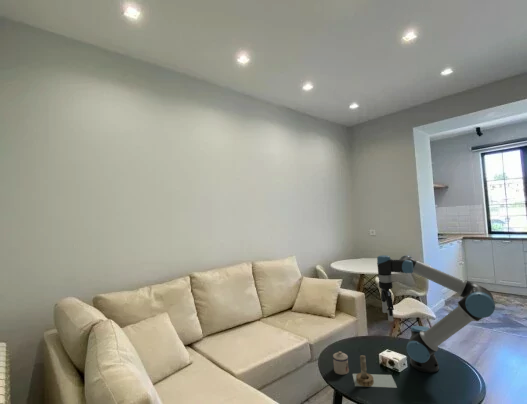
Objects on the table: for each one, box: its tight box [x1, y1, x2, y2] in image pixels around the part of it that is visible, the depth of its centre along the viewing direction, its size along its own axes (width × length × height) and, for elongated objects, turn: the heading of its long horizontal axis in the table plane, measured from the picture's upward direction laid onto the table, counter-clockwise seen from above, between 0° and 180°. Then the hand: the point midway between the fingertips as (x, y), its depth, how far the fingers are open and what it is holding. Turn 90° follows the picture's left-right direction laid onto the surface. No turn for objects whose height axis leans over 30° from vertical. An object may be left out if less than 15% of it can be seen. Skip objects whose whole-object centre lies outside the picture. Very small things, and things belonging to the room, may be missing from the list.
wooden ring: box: [356, 372, 374, 388], centre depth 163 cm, size 9×9×2 cm
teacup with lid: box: [332, 350, 350, 376], centre depth 177 cm, size 12×9×12 cm
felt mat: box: [352, 373, 398, 389], centre depth 164 cm, size 22×12×1 cm, turn 80°
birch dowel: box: [359, 354, 368, 380], centre depth 163 cm, size 3×3×14 cm
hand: (387, 316), depth 175 cm, fingers open, 13 cm apart
